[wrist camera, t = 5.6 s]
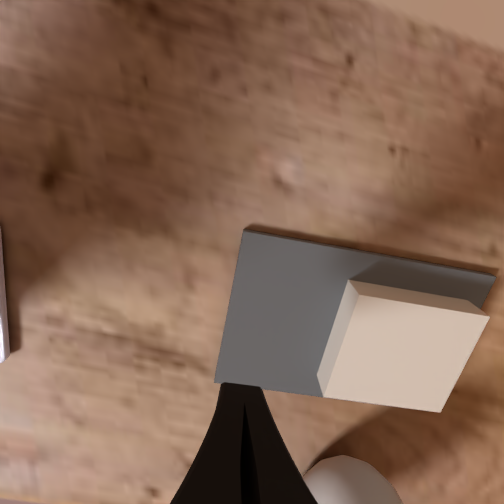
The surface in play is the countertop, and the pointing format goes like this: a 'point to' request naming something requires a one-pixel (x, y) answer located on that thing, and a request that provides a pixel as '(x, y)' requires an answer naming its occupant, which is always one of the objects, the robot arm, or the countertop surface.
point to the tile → (398, 346)
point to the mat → (311, 305)
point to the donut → (349, 483)
